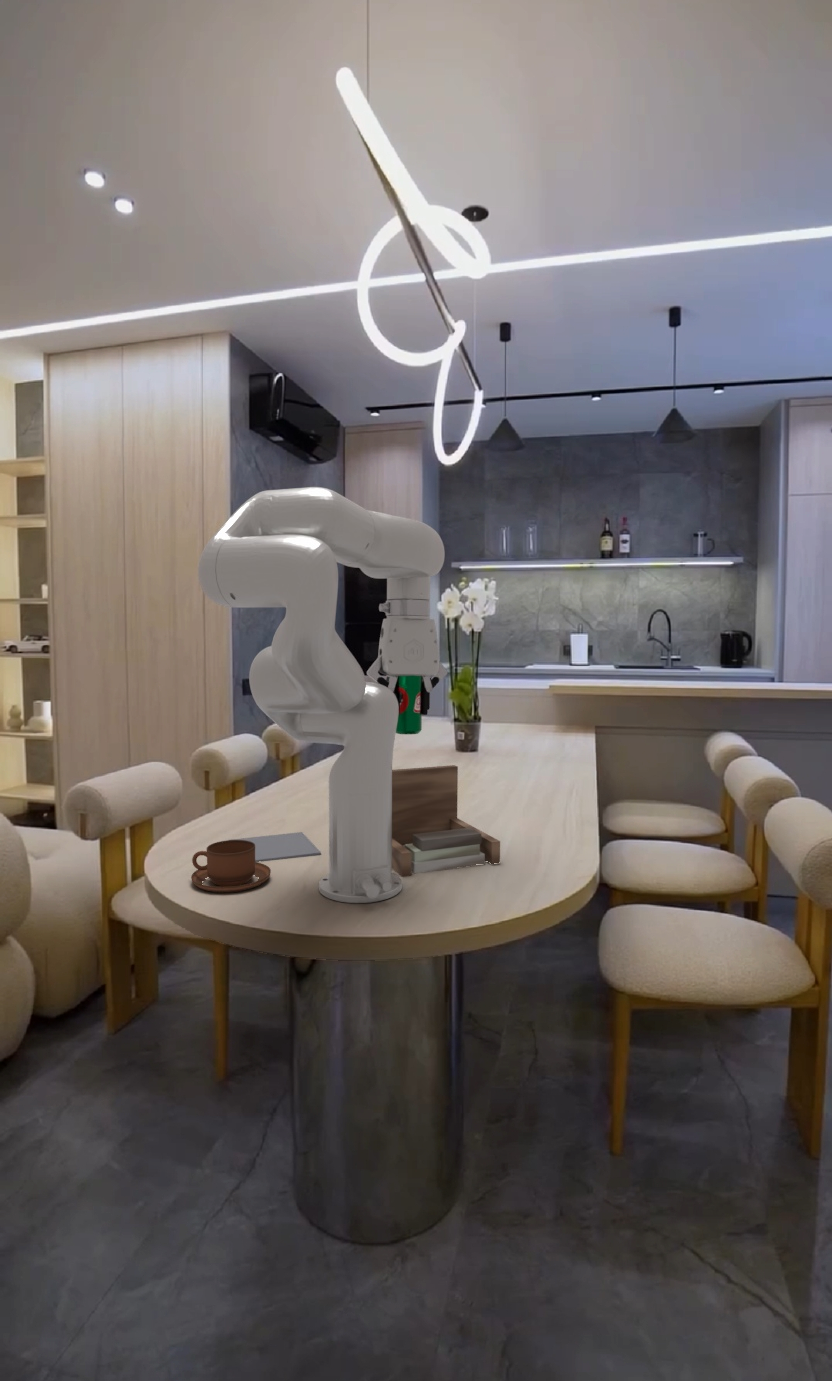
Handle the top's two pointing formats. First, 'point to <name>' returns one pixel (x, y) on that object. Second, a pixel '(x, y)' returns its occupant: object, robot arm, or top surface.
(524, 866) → the top surface
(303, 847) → the mat
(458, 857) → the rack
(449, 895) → the top surface
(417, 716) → the soda can
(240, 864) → the cup and saucer
